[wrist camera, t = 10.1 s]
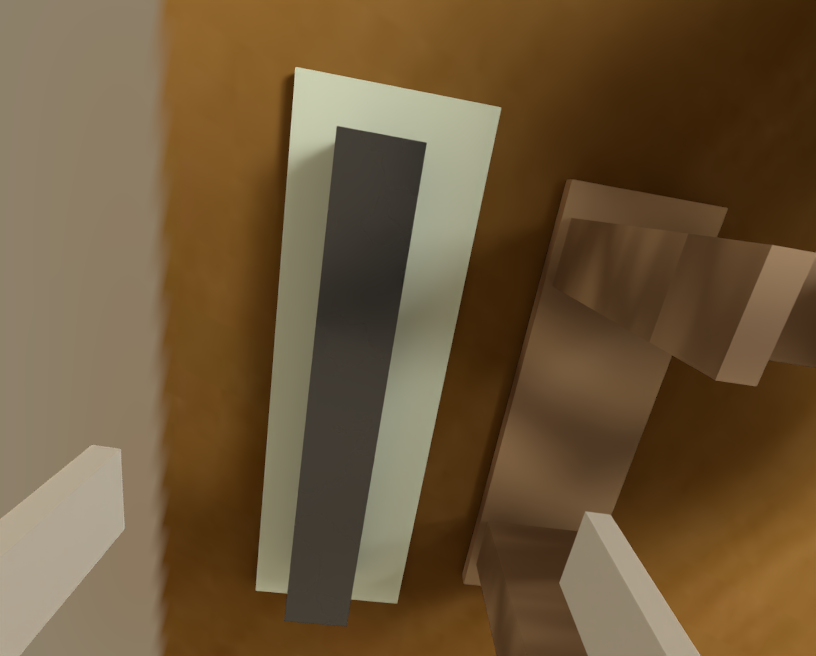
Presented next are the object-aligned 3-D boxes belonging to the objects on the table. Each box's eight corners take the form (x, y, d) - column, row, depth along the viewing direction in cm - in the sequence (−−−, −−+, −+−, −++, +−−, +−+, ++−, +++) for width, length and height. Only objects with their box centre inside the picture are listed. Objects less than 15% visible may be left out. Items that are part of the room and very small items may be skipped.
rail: (346, 137, 17) (336, 125, 14) (421, 151, 17) (426, 142, 14) (297, 568, 23) (284, 621, 20) (352, 573, 23) (346, 626, 20)
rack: (566, 179, 18) (786, 162, 8) (717, 207, 19) (1100, 224, 9) (461, 575, 24) (510, 839, 14) (576, 586, 25) (699, 848, 15)
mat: (298, 71, 16) (295, 67, 16) (497, 110, 17) (501, 107, 16) (258, 581, 24) (255, 590, 23) (396, 594, 25) (397, 603, 24)
